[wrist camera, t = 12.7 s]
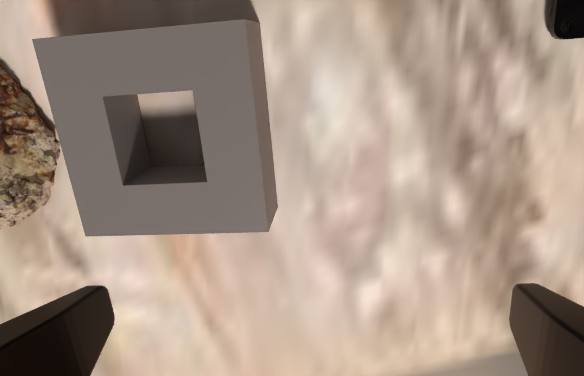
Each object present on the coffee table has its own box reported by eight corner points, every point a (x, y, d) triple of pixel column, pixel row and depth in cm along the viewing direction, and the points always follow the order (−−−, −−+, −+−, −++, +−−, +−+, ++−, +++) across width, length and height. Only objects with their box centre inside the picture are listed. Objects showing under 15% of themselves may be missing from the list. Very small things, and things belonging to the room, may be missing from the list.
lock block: (259, 22, 18) (245, 18, 16) (277, 206, 21) (268, 231, 19) (76, 39, 20) (31, 39, 17) (117, 212, 23) (85, 236, 20)
